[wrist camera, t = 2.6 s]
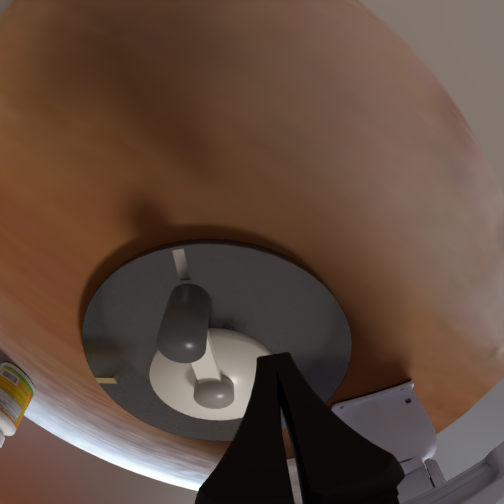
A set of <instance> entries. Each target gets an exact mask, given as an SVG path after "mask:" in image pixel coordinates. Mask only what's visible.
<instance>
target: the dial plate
mask: <svg viewBox="0 0 504 504" xmlns="http://www.w3.org/2000/svg"><path fill="white" fill-rule="evenodd" d="M187 283H189V284H195V285H198V286H200V287H202V288H203V289H204V290H205V291H206V292H207V293H208V295H209V297H210V313H209V323H208V328H220V329H228V330H232V331H237V332H240V333H243V334H246V335H248V336H250V337H252V338H254V339H256V340H257V341H259V342H261V343H262V344H263V345H264V346H266V347H267V348H268V349H269V350H270V352H271V353H272V354H278V353H284V352H289V353H290V354H291V356H292V358H293V360H294V362H295V364H296V366H297V367H298V369H299V371H300V372H301V374H302V375H303V377H304V378H305V380H306V381H307V382H308V384H309V385H310V386H311V388H312V389H313V390H314V391H315V393H316V394H317V395H318V396H319V397H320V398H321V400H322V401H323V402H324V403H325V402H326V401H327V400H328V399H329V398H330V397H331V396H332V395H333V394H334V392H335V391H336V390H337V388H338V387H339V385H340V384H341V382H342V380H343V378H344V377H345V374H346V371H347V369H348V366H349V362H350V357H351V350H352V339H351V333H350V327H349V324H348V321H347V319H346V316H345V314H344V312H343V310H342V308H341V306H340V305H339V303H338V301H337V300H336V298H335V296H334V295H333V293H332V292H331V291H330V290H329V288H328V287H327V286H326V285H325V284H324V283H323V281H322V280H321V279H319V278H318V277H317V276H316V275H315V274H313V273H312V272H311V271H310V270H309V269H307V268H306V267H304V266H303V265H301V264H299V263H298V262H296V261H294V260H293V259H291V258H289V257H287V256H284V255H282V254H280V253H278V252H275V251H273V250H271V249H267V248H264V247H260V246H257V245H253V244H250V243H244V242H238V241H232V240H221V239H197V240H186V241H178V242H174V243H170V244H165V245H161V246H158V247H155V248H153V249H150V250H147V251H145V252H142V253H140V254H138V255H136V256H135V257H133V258H131V259H129V260H128V261H126V262H124V263H123V264H122V265H121V266H119V267H118V268H117V269H116V270H114V271H113V272H112V273H111V274H110V275H109V276H108V277H107V278H106V280H105V281H104V282H103V283H102V284H101V286H100V287H99V288H98V290H97V291H96V293H95V294H94V296H93V298H92V300H91V301H90V303H89V305H88V308H87V311H86V314H85V317H84V322H83V329H82V338H83V347H84V352H85V357H86V359H87V362H88V364H89V367H90V369H91V371H92V373H93V375H94V377H95V379H96V380H97V382H98V383H99V384H100V385H101V387H102V388H103V390H104V391H105V392H106V393H107V394H108V395H109V396H110V397H111V398H112V399H113V400H114V401H115V402H116V403H117V404H118V405H120V406H121V407H122V408H123V409H125V410H126V411H127V412H129V413H130V414H132V415H133V416H135V417H136V418H138V419H140V420H142V421H143V422H145V423H147V424H149V425H151V426H154V427H156V428H158V429H161V430H164V431H166V432H169V433H172V434H176V435H180V436H184V437H189V438H194V439H201V440H211V441H232V440H233V438H234V436H235V434H236V432H237V430H238V428H239V426H240V424H241V421H242V419H243V417H241V418H237V419H231V420H207V419H200V418H196V417H192V416H189V415H186V414H183V413H181V412H179V411H177V410H175V409H173V408H172V407H170V406H169V405H167V404H166V403H165V402H164V401H162V400H161V399H160V398H159V396H158V395H157V394H156V393H155V391H154V389H153V387H152V385H151V382H150V376H149V372H150V367H151V363H152V359H153V357H154V354H155V352H156V351H157V349H158V348H157V344H156V339H157V335H158V332H159V329H160V325H161V322H162V319H163V316H164V312H165V309H166V306H167V303H168V300H169V297H170V294H171V292H172V290H173V289H174V288H175V287H177V286H179V285H181V284H187ZM280 407H281V405H280ZM281 422H282V430H283V429H285V428H287V426H286V423H285V419H284V416H283V412H282V409H281Z"/></svg>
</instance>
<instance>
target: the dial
mask: <svg viewBox="0 0 504 504" xmlns="http://www.w3.org/2000/svg"><path fill="white" fill-rule="evenodd" d="M209 313H210V297H209V295H208V293H207V292H206V291H205V290H204V289H203V288H202V287H200V286H198V285H195V284H189V283H187V284H181V285H179V286H177V287H175V288H174V289H173V290H172V292H171V294H170V297H169V300H168V303H167V306H166V309H165V312H164V316H163V319H162V322H161V325H160V329H159V332H158V335H157V339H156V344H157V348H158V349H157V351H156V352H155V354H154V357H153V359H152V363H151V367H150V372H149V376H150V382H151V385H152V387H153V389H154V391H155V393H156V394H157V395H158V396H159V398H160V399H161V400H162V401H164V402H165V403H166V404H167V405H169V406H170V407H172V408H173V409H175V410H177V411H179V412H181V413H183V414H186V415H189V416H192V417H196V418H200V419H207V420H231V419H237V418H241V417H243V416H244V414H245V411H246V408H247V405H248V402H249V399H250V396H251V392H252V388H253V384H254V379H255V373H256V364H257V361H256V359H257V358H258V357H259V356H265V355H272V353H271V352H270V350H269V349H268V348H267V347H266V346H264V345H263V344H262V343H261V342H259V341H257V340H256V339H254V338H252V337H250V336H248V335H246V334H243V333H240V332H237V331H232V330H228V329H220V328H208V323H209Z"/></svg>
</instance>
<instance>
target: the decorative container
mask: <svg viewBox="0 0 504 504" xmlns="http://www.w3.org/2000/svg"><path fill="white" fill-rule="evenodd" d="M287 464H288V470H289V475H290V480H291V486H292V491H293V496H294V502H295V504H303V503H302V497H301V491H300V485H299V479H298V474H297V468H296V462H295V458H291V459H287Z"/></svg>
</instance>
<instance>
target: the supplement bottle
mask: <svg viewBox="0 0 504 504" xmlns="http://www.w3.org/2000/svg"><path fill="white" fill-rule="evenodd" d="M34 392H35V389H34V386H33V384H32V382H31V380H30V379H29V378H28V377H27V376H26V375H25V374H24V373H23V372H22V371H21V370H20V369H19V368H17V367H16V366H14V365H13V364H11V363H7V362H4V363H2V364H1V365H0V448H1V446H2V445H3V442H4V440H5V437H4V435H8V436H11V435H13V434H14V433H15V431H16V429H17V427H18V425H19V423H20V421H21V419H22V416H23V415H24V413H25V411H26V409H27V407H28V405H29V403H30V401H31V399H32V397H33V395H34Z"/></svg>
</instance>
